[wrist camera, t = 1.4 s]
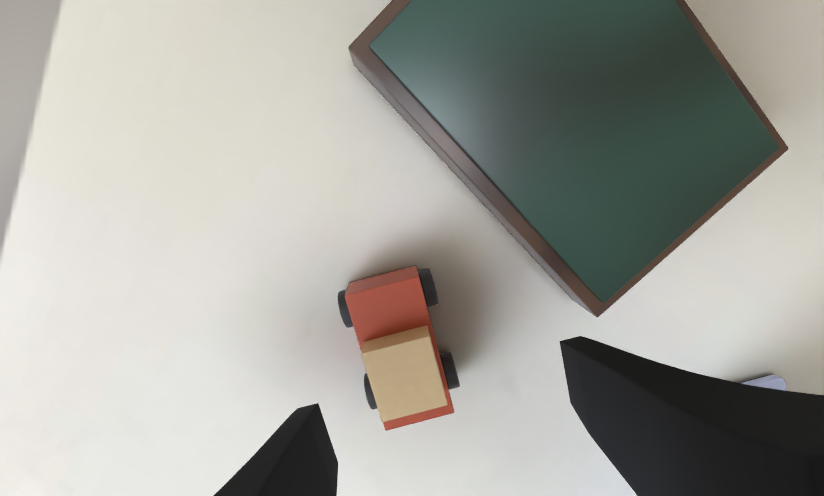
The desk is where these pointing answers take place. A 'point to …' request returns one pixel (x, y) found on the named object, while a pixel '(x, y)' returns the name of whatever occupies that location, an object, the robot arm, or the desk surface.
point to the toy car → (400, 346)
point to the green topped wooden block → (575, 123)
